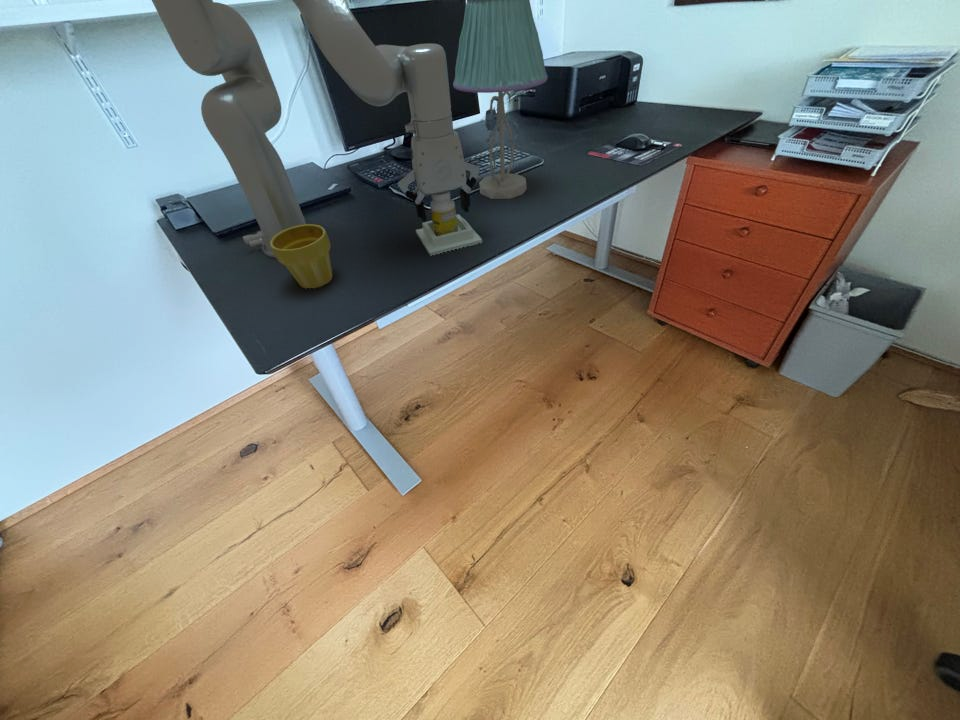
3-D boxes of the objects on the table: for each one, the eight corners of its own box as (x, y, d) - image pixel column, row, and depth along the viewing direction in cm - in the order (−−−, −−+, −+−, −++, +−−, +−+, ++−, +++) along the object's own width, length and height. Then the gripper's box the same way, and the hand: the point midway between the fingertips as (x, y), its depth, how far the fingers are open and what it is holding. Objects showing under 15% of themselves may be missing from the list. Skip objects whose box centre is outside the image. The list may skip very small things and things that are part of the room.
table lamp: (487, 171, 120) (478, -10, 93) (555, 180, 112) (567, -16, 84) (448, 199, 107) (423, -1, 80) (521, 212, 99) (522, -8, 71)
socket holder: (430, 256, 86) (428, 244, 84) (416, 233, 94) (414, 221, 93) (482, 242, 89) (481, 231, 87) (464, 221, 97) (462, 210, 95)
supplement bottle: (431, 232, 92) (424, 189, 86) (454, 227, 94) (448, 184, 87) (438, 242, 89) (431, 198, 82) (461, 237, 90) (456, 192, 83)
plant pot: (281, 295, 79) (259, 250, 72) (301, 267, 87) (282, 224, 80) (332, 294, 78) (314, 248, 72) (347, 266, 86) (332, 222, 79)
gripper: (392, 140, 72) (410, 230, 83) (482, 124, 75) (487, 212, 87) (384, 130, 77) (402, 216, 89) (469, 115, 81) (475, 200, 92)
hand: (444, 214), depth 88 cm, fingers open, 9 cm apart
